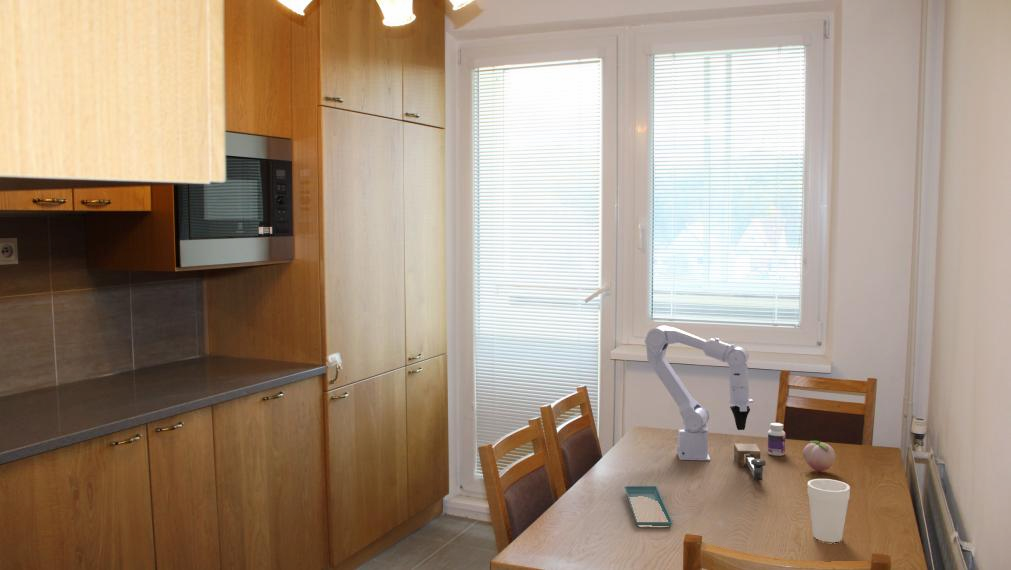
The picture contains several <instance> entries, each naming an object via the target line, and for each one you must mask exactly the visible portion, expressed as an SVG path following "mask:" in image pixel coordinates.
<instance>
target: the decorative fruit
mask: <svg viewBox="0 0 1011 570" xmlns="http://www.w3.org/2000/svg"><path fill="white" fill-rule="evenodd" d="M802 455H803V459H804V461H805V462H806V463H807V465H808V466H809V467H810V468H811V469H812V470H814V471H815V472H818V473H821V472H823V471H827V470H829V469H830V468H831V467H832V466H833V465H834V463H835V460H836V452H835V450H834V449H833V447H832V446H831V445H829V444H828V443H826V442H821V440H820V439H818V440H810V441H809V442H808V444H806V446H805V447H804V449H803V451H802Z"/></svg>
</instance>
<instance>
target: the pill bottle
mask: <svg viewBox="0 0 1011 570" xmlns="http://www.w3.org/2000/svg"><path fill="white" fill-rule="evenodd" d="M769 425H770V426H769V430H768V431H767V454H768V455H771V456H776V457H777V456H778V457H781V456H785V454H786V432H785V431H784V430H783V429H784V423H783V424H782V423H781V422H772V423H770V424H769Z"/></svg>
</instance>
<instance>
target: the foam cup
mask: <svg viewBox="0 0 1011 570" xmlns="http://www.w3.org/2000/svg"><path fill="white" fill-rule="evenodd" d="M850 491H851V486H850V485H849V484H848V483H846V482H843V481H840V480H838V479H830V478H814V479H810V480H808V481H807V492H806V493H807V495H808V501H809V502H808V504H809V512H810V520H811V527H812V536H814V537H815V538H816V539H819V540H822V541H828V542H838V541H840V540H841V541H842V539H843V534H844V528H845V522H846V516H847V511H848V504H849V500H850V497H851V496H850V495H851V492H850ZM816 539H815V540H816Z"/></svg>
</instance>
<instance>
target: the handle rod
mask: <svg viewBox="0 0 1011 570" xmlns="http://www.w3.org/2000/svg"><path fill="white" fill-rule="evenodd" d="M766 462H767V461H766V460H765V459H762V458H760V459H754V457H753V456H752V455H750V454H745V463H746V465H747V467H748V468H749V470H750V472H751V474H752V476H753V480H754V481H758V482H759V481H763V475H764V474H763V467H765V466H766Z"/></svg>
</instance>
